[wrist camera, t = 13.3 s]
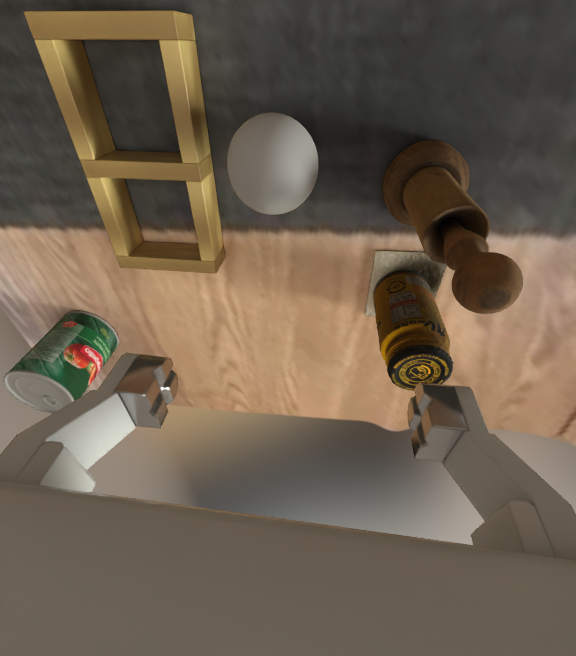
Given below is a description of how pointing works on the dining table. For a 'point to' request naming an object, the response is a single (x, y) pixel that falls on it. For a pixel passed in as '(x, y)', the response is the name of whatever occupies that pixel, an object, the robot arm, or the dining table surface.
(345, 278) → the dining table surface
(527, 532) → the robot arm
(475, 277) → the mortar and pestle
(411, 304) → the condiment
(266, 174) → the lightbulb
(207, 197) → the rack
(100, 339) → the canned tomato
